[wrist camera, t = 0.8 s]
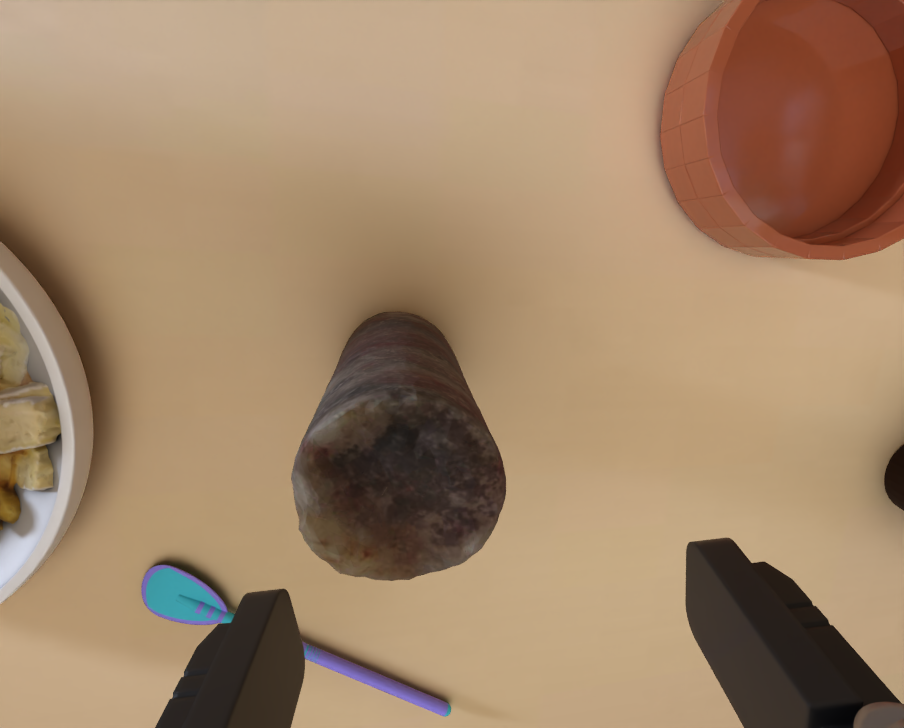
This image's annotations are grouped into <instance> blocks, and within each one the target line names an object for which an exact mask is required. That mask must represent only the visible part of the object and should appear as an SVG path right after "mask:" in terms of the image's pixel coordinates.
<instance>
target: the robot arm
mask: <svg viewBox="0 0 904 728" xmlns="http://www.w3.org/2000/svg"><path fill="white" fill-rule="evenodd" d="M686 612H687V617H688V621H689V625H690V628H691V630H692V633H693V635H694V638H695V640H696V641H697V643H698V645H699V647H700V649H701V650H702V652H703V654H704V656H705V658H706V660H707V661H708V663H709V665H710V667H711V669H712V670H713V672H714V674H715V676H716V678H717V679H718V681H719V683H720V685H721V687H722V688H723V690H724V692H725V694H726V696H727V697H728V699H729V701H730V703H731V705H732V706H733V708H734V710H735V712H736V714H737V715H738V717H739V719H740V721H741V723H742V724H743V726H744V728H904V704H902V703H901V702H900V701H899V700H898V699H897V698H896V697H895V696H894V695H893V693H892V692H891V691H890V690H889V689H888V688H887V687H886V685H885V684H884V683H883V682H882V681H881V680H880V679H879V677H878V676H877V675H876V674H875V673H874V672H873V671H872V669H871V668H870V667H869V666H868V665H867V664H866V663H865V662H864V660H863V659H862V658H861V657H860V656H859V655H858V654H857V652H856V651H855V650H854V649H853V648H852V647H851V646H850V644H849V643H848V642H847V641H846V640H845V639H844V638H843V636H842V635H841V634H840V633H839V632H838V631H837V630H836V629H835V627H834V626H833V625H830V624H829V622H828V619H827V618H826V617H825V616H824V615H823V614H822V613H821V611H820V610H819V609H818V608H817V607H816V606H813V605H812V601H811V600H810V599H809V598H808V597H807V596H806V594H805V593H804V592H803V591H802V590H801V589H800V588H799V586H798V585H797V584H796V583H795V582H794V581H793V580H792V579H791V578H789V577H788V576H786V575H785V574H783V573H782V572H780V571H779V570H777V569H775V568H774V567H772V566H771V565H769V564H768V563H766V562H758V563H751V562H750V561H749V559H748V558H747V557H746V556H745V554H744V553H743V552H742V551H741V549H740V548H739V547H738V546H737V544H736V543H735V542H734V541H733V540H732V539H730V538H720V539H711V540H703V541H695V542H689V543H688V545H687V551H686ZM304 670H305V655H304V647H303V643H302V640H301V636H300V632H299V629H298V625H297V621H296V618H295V614H294V611H293V607H292V603H291V600H290V596H289V594H288V592H287V590H285V589H277V590H268V591H260V592H251V593H247V594H245V595H244V597H243V598H242V600H241V602H240V604H239V606H238V608H237V611H236V613H235V615H234V617H233V619H232V621H231V623H224V624H218V625H217V626H216V627H215V629H214V630H213V631H212V632H211V633H210V634H209V635H208V636H207V637H206V638H205V639H204V640H203V641H202V642H201V643H200V644H199V645H198V646H197V648H196V650H195V652H194V654H193V656H192V658H191V660H190V662H189V663H188V665H187V667H186V669H185V671H184V677H181V679H180V681H179V683H178V685H177V687H176V689H175V690H174V692H173V698H172V699H170V700H169V702H168V704H167V706H166V708H165V710H164V712H163V714H162V716H161V717H160V719H159V721H158V723H157V725H156V727H155V728H290V727H291V724H292V720H293V716H294V713H295V709H296V705H297V702H298V698H299V694H300V691H301V687H302V683H303V678H304Z"/></svg>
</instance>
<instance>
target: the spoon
mask: <svg viewBox="0 0 904 728" xmlns="http://www.w3.org/2000/svg"><path fill="white" fill-rule="evenodd" d="M142 598H143V601H144V603H145V605H146V606H147V608H148V609H149V610H150V611H151V612H153V613H154V614H156V615H157V616H159V617H162V618H165V619H168V620H171V621H175V622H180V623H185V624H194V625H210V624H216V623H223V624H224V623H231V621H232V619H233V617H234V615H235V614H233V613H231V612H228V610H227V607H226V605H225V603H224V602H223V600H222V599H221V598H220V597H219V595H218V594H217V593H216V592H215V591H214V590H212V589H211V588H210V587H209V586H208V585H207V584H205V583H204V582H202V581H201V580H199V579H198V578H196V577H195V576H193V575H191V574H189V573H187V572H185V571H183V570H181V569H178V568H176V567H173V566H170V565H157V566H154V567H152V568H151V569H150V570H149V571H148V572H147V573H146V575H145V576H144V579H143V582H142ZM302 643H303V647H304V655H305V659H307V660H309V661H312V662H314V663H317V664H319V665H321V666H324V667H326V668H329V669H331V670H333V671H336V672H338V673H341V674H343V675H345V676H348V677H350V678H353V679H355V680H358V681H360V682H362V683H365V684H367V685H370V686H372V687H374V688H377V689H379V690H382V691H384V692H386V693H389V694H391V695H394V696H396V697H398V698H401V699H403V700H406V701H408V702H410V703H413V704H415V705H418V706H420V707H422V708H425V709H427V710H430V711H432V712H434V713H437V714H439V715H442V716H448V715H449V714H450V712H451V707H450V705H449V704H448V703H447V702H444V701H442V700H440V699H437V698H435V697H432V696H430V695H428V694H425V693H423V692H421V691H418V690H416V689H413V688H411V687H409V686H406V685H404V684H402V683H399V682H397V681H395V680H392V679H390V678H387V677H385V676H383V675H380V674H378V673H376V672H373V671H371V670H368V669H366V668H364V667H361V666H359V665H357V664H354V663H352V662H350V661H347V660H345V659H342V658H340V657H338V656H335V655H333V654H331V653H328V652H326V651H323V650H321V649H319V648H316V647H314V646H311V645H308V644H307V643H305V642H302Z"/></svg>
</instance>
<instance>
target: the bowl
mask: <svg viewBox="0 0 904 728" xmlns="http://www.w3.org/2000/svg"><path fill="white" fill-rule="evenodd" d="M92 450H93V412H92V404H91V397H90V392H89V387H88V382H87V379H86V375H85V371H84V368H83V365H82V362H81V359H80V356H79V353H78V351H77V348H76V346H75V344H74V341H73V339H72V337H71V335H70V333H69V331H68V329H67V327H66V325H65V323H64V321H63V319H62V317H61V316H60V314H59V312H58V310H57V309H56V307H55V306H54V304H53V303H52V301H51V300H50V298H49V297H48V295H47V294H46V292H45V291H44V290H43V288H42V287H41V286H40V284H39V283H38V281H37V280H36V279H35V278H34V276H33V275H32V274H31V273H30V272H29V270H28V269H27V268H26V267H25V266H24V265H23V264H22V262H21V261H20V260H19V259H18V258H17V257H16V256H15V255H14V254H13V253H12V252H11V251H10V250H9V249H8V248H7V247H6V246H5V245H4V244H3V243H2V242H1V241H0V604H1V603H3V602H4V601H5V600H6V599H8V598H9V597H10V596H11V595H12V594H13V593H14V592H16V591H17V590H18V589H19V588H20V587H21V586H22V585H23V584H25V583H26V582H27V581H28V580H29V579H30V578H31V577H32V576H33V575H34V574H35V573H36V571H37V570H38V569H39V568H40V567H41V566H42V565H43V564H44V562H45V561H46V560H47V559H48V558H49V556H50V555H51V554H52V552H53V551H54V550H55V548H56V547H57V545H58V544H59V543H60V541H61V539H62V538H63V536H64V535H65V533H66V531H67V530H68V528H69V526H70V524H71V522H72V520H73V518H74V516H75V514H76V512H77V509H78V507H79V504H80V502H81V499H82V496H83V493H84V490H85V487H86V484H87V480H88V476H89V471H90V465H91V459H92Z"/></svg>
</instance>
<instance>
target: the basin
mask: <svg viewBox="0 0 904 728" xmlns="http://www.w3.org/2000/svg"><path fill="white" fill-rule="evenodd" d="M660 133H661V134H660V138H661V146H662V154H663V161H664V169H665V172H666V174H667V177H668V179H669V181H670V184H671V186H672V189H673V191H674V194H675V196H676V199H677V201H679V202H678V203H679V204H680V206H681V207H682V208H683V210H684V211H685V212H686V213H687V215H688V216H689V217H690V219H691V220H692V221H693V223H694V224H695V225H696V226H697V227H698V228H699V229H700V230H701V231H703V232H704V233H706V234H707V235H708V236H710V237H711V238H712V239H714V240H715V241H717V242H718V243H719V244H721V245H722V246H724V247H727V248H730V249H733V250H736V251H739V252H742V253H744V254H747V255H750V256H756V257H778V258H800V259H826V260H845V259H849V258H853V257H858V256H862V255H866V254H870V253H874V252H878V251H881V250H883V249H884V248H886V247H888V246H890V245H892V244H894V243H896V242H898V241H900V240H902V239H903V238H904V0H725V1H724V2H723V3H722V4H721V5H720V6H719V7H718V8H717V9H716V10H715V11H714V12H713V13H712V14H710V15H709V16H708V17H707V18H706V19H705V20H704V21H703V22H702V23H701V24H700V25H699V26H698V28H697V29H696V31H695V32H694V34H693V36H692V37H691V39H690V40H689V42H688V43H687V45H686V46H685V48H684V50H683V51H682V53H681V54H680V56H679V57H678V59H677V62H676V65H675V67H674V70H673V73H672V76H671V79H670V81H669V84H668V87H667V90H666V93H665V97H664V105H663V114H662V123H661V131H660Z"/></svg>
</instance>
